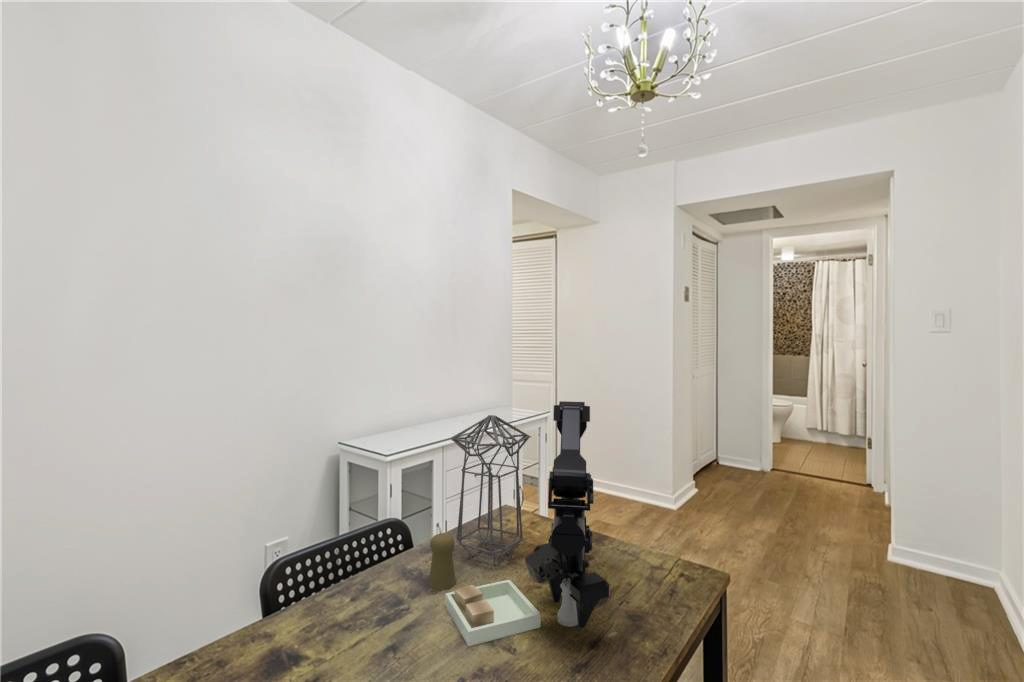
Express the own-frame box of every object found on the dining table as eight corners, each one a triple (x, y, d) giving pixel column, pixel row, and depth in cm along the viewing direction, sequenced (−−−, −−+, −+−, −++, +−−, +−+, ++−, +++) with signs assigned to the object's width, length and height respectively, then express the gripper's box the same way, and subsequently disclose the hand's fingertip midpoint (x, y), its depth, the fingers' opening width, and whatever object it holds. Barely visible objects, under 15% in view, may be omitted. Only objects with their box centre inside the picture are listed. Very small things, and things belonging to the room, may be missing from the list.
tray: (509, 594, 104) (509, 579, 104) (540, 630, 92) (540, 613, 92) (445, 608, 99) (445, 593, 99) (468, 649, 86) (468, 632, 86)
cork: (450, 594, 104) (451, 542, 104) (423, 591, 105) (424, 539, 105) (459, 580, 110) (460, 531, 110) (433, 577, 111) (434, 529, 111)
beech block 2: (485, 620, 94) (485, 599, 94) (493, 632, 90) (493, 610, 90) (465, 625, 92) (465, 604, 92) (472, 637, 88) (472, 615, 88)
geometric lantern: (445, 563, 118) (446, 416, 119) (481, 541, 132) (482, 409, 132) (502, 579, 110) (503, 421, 111) (534, 554, 124) (535, 414, 125)
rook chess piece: (582, 619, 95) (582, 577, 95) (577, 632, 91) (578, 588, 91) (559, 614, 97) (560, 573, 97) (554, 627, 93) (554, 584, 93)
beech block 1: (472, 604, 99) (472, 584, 99) (482, 613, 96) (482, 593, 96) (454, 610, 97) (454, 590, 97) (464, 620, 94) (464, 599, 94)
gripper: (510, 521, 99) (509, 599, 99) (556, 560, 82) (555, 654, 82) (558, 513, 104) (558, 588, 104) (612, 549, 87) (611, 638, 87)
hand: (568, 614), depth 94 cm, fingers open, 9 cm apart
